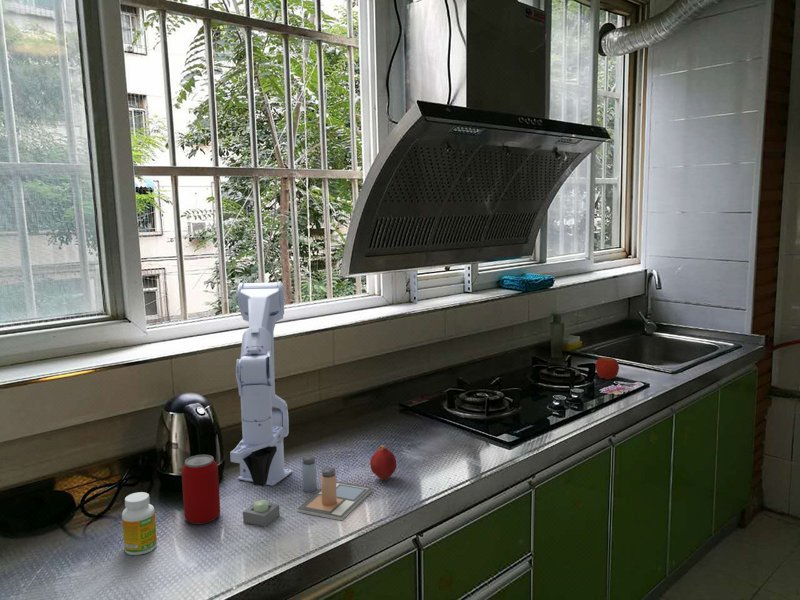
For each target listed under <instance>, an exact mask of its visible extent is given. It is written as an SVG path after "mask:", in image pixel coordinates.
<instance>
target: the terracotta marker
mask: <svg viewBox="0 0 800 600" xmlns="http://www.w3.org/2000/svg"><path fill="white" fill-rule="evenodd" d="M320 478H321V479H320V480H321V481H320V483H321V488H320V489H322V504H323V505H325V506H332V505H335V504H336V503H337V493H336V481H337V473H336V469H335V468H334V467H331V466H330V467H324V468H322V470H321V475H320Z"/></svg>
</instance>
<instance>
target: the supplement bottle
mask: <svg viewBox="0 0 800 600" xmlns="http://www.w3.org/2000/svg"><path fill="white" fill-rule="evenodd" d="M124 505H125V506H124V507H125V508H124V509H123V511H122V513H121V521H122V523H121V525H122V534H123V536H122V537H123V549H124V551H125V553H126V554H127V555H129V556H140V555H141V556H142V555H144V554H147V553H149V552H151V551H153V550H155V548H156V546H157V540H158V539H157V528H156V527H157V526H156V525H157V524H156V515H155V514H156V511H155V507H154V505H152V504H151V502H150V494H149V493H147V492H143V491H140V492H139V491H138V492H133V493H130V494H128V495H127V496H126V497H125V498H124Z"/></svg>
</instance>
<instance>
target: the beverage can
mask: <svg viewBox="0 0 800 600" xmlns="http://www.w3.org/2000/svg"><path fill="white" fill-rule="evenodd" d="M219 479H220V478H219V466H218V464H217V462H216V461H215V458H214V456H212V455H210V454H196V455H192V456H190V457H188V458H186V459H185V460H184V464H183V466H182V468H181V483H182V484H181V485H182V499H183V500H182V501H183V514H184V519H185V520H186V521H187V522H189V523H192V524H194V525H204V524H205V525H206V524H207V523H211V522H212V521H214V520H215V519H217V517H219V515H220V513H221V501H220V500H221V499H220V482H219Z"/></svg>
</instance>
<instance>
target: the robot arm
mask: <svg viewBox="0 0 800 600" xmlns="http://www.w3.org/2000/svg"><path fill="white" fill-rule="evenodd" d="M284 287H285V286H284V283H283V282H282V281H277V282H275V281H274V282H273V281H272V282H240V283H239V284H238V286H237V305H238V308H239V313H240V315H241V317H242V320H243V321H246V322H248V328H247V329H246V330H245V331H244V332H243V334H242V337H241V338H242V340H241V349H240V358H237V359H236V363H235V364H236V365H235V377H236V383H237V387H238V396H239V397H240V412H241V431H242V433H241V434H242V439H241V440H240V441H239V443H238V444H237V445H236V447H235V448H234V449H233V450H231V451H230V452H229V453H230V454H229V455H230V463H234V464H235V463H236V464H239V473H240V476H238V477H237V478H238V480H241V481H246V482H250V483H251V482H252V483H253V485H254V486H259V487H264V486H265V485H267V486H275V485H276V484H278V483H279V482H281V481H282V480H283V479H285V478H286V477H288V476H289V475H291V474H292V473H293V470H292V469H287V468H285V455H284V454H285V453H284V452H285V451H284V438H287V436H288V435H289V431H290V430H289V429H290V428H289V427H290V426H289V424H290V422H289V410H288V404H287V401H286V400H284V399H283V398H281V397H280V396H279V395H277V394H276V391H275V390H276V387H275V386H276V383H275V378H276V377H275V346H274V345H275V342H274V341H275V340H274V339H275V338H274V331H275V330H274V329H275V327H276V324H277V323H276V322H278V321H281V320H283V319H284V315H285V288H284ZM273 408H276V409H273Z"/></svg>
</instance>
